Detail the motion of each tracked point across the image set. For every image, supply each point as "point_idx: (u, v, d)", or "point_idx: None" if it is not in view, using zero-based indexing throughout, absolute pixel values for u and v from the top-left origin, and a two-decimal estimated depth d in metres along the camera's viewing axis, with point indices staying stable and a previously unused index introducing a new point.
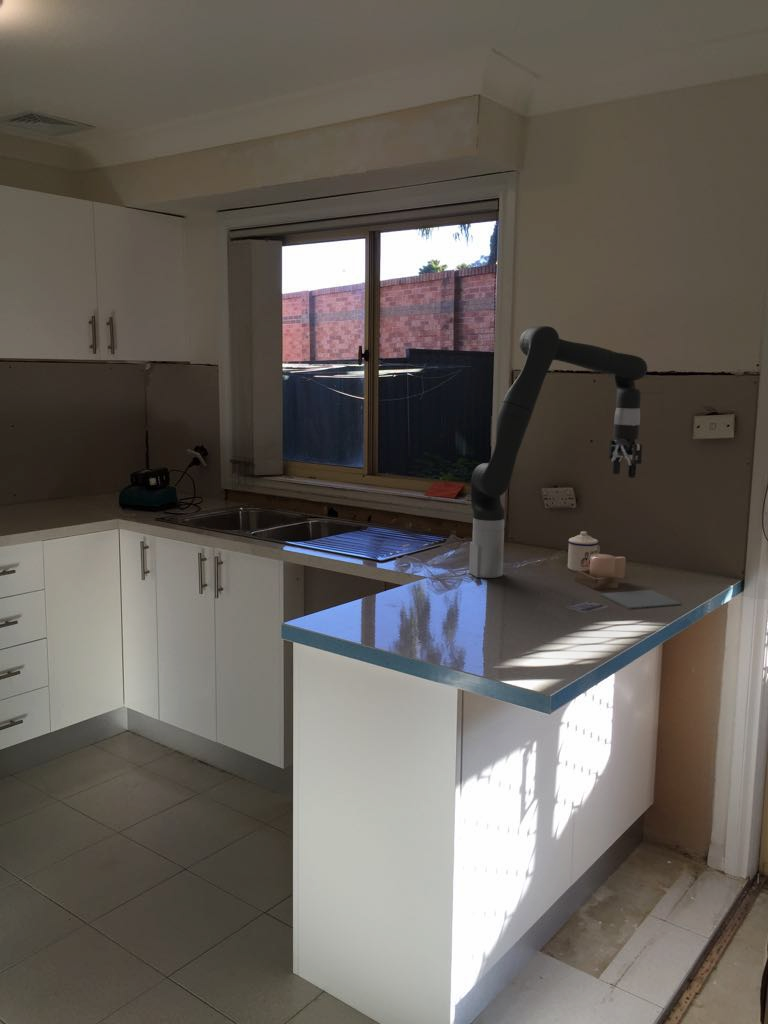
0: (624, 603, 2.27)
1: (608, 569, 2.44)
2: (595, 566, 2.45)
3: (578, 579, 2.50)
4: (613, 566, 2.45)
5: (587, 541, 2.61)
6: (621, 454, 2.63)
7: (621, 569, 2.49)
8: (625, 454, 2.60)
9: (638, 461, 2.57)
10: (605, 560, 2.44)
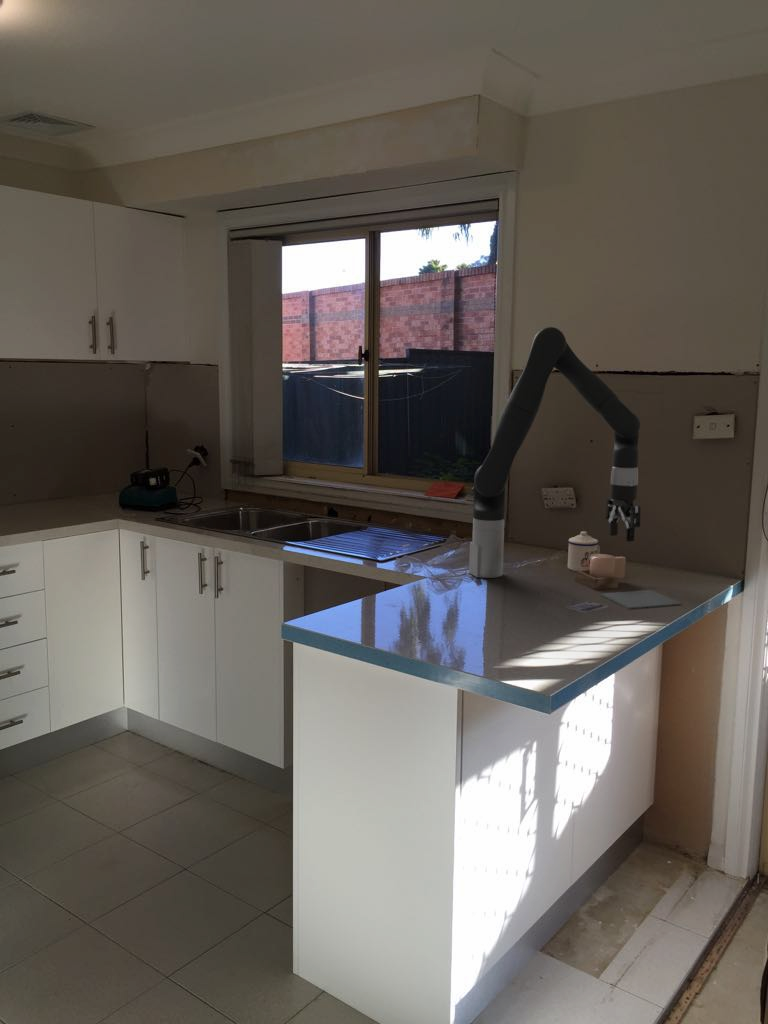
0: (624, 603, 2.27)
1: (608, 569, 2.44)
2: (595, 566, 2.45)
3: (578, 579, 2.50)
4: (613, 566, 2.45)
5: (587, 541, 2.61)
6: (618, 515, 2.47)
7: (621, 569, 2.49)
8: (623, 516, 2.43)
9: (637, 524, 2.40)
10: (605, 560, 2.44)
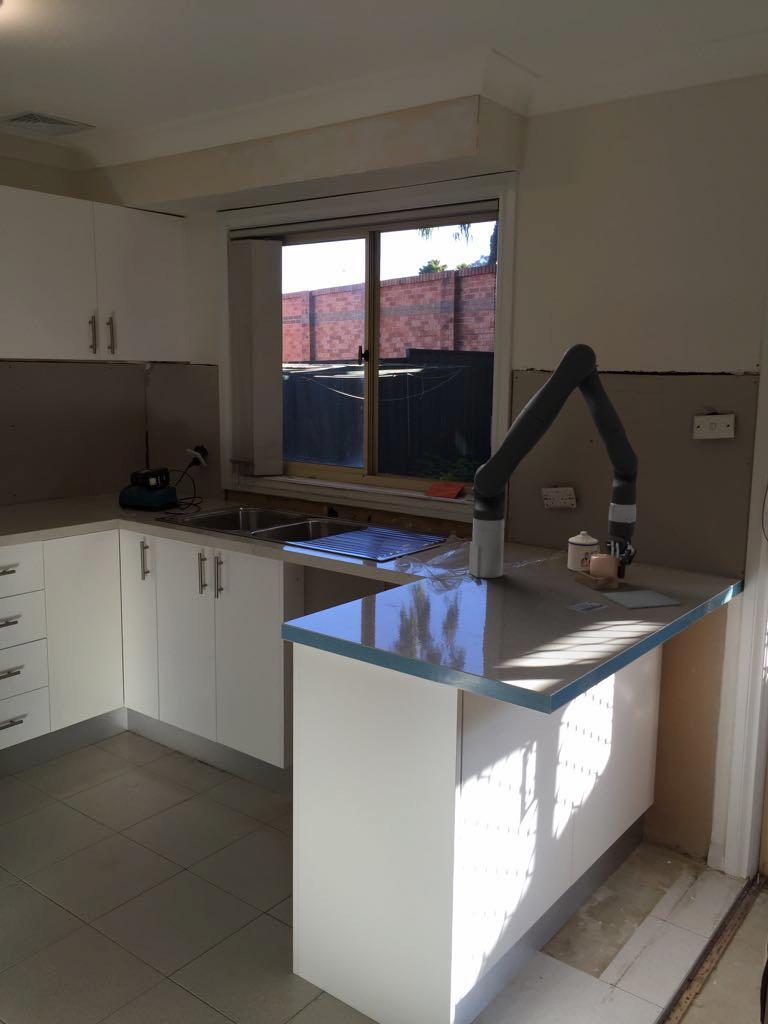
0: (624, 603, 2.27)
1: (608, 569, 2.44)
2: (595, 565, 2.45)
3: (578, 579, 2.50)
4: (613, 566, 2.45)
5: (587, 541, 2.61)
6: (616, 551, 2.48)
7: None
8: (617, 553, 2.47)
9: (627, 563, 2.45)
10: (605, 560, 2.44)
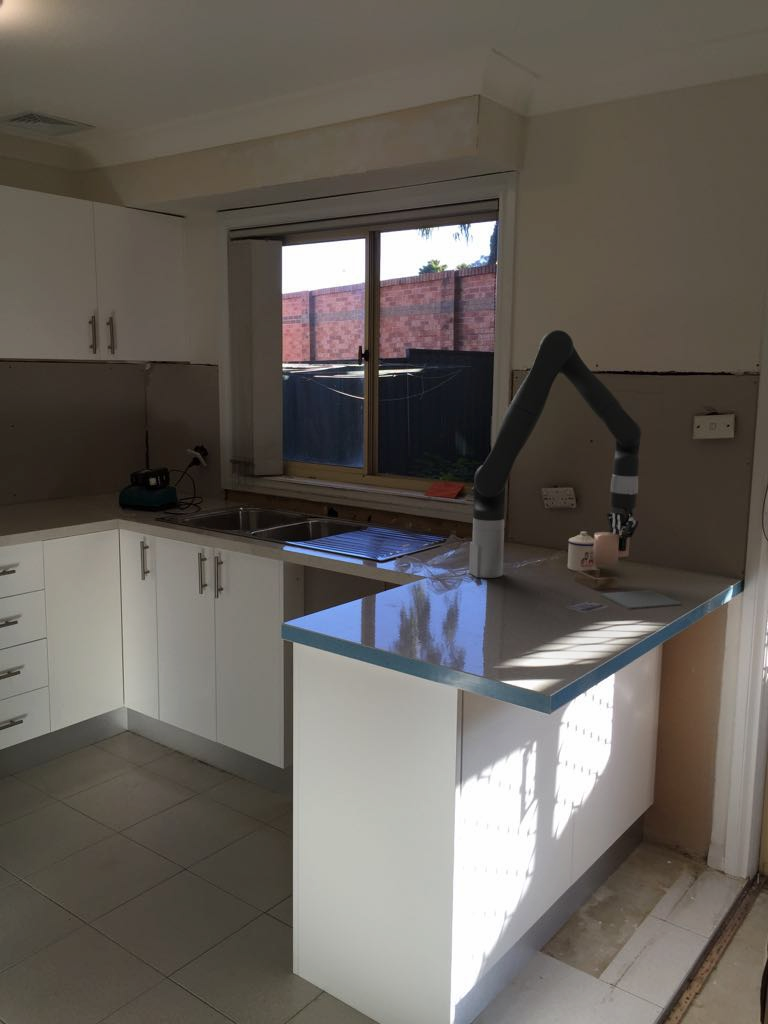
0: (624, 603, 2.27)
1: (612, 546, 2.43)
2: (599, 543, 2.44)
3: (578, 579, 2.50)
4: (617, 544, 2.44)
5: (587, 541, 2.61)
6: (617, 523, 2.47)
7: None
8: (619, 525, 2.45)
9: (629, 536, 2.44)
10: (609, 538, 2.43)
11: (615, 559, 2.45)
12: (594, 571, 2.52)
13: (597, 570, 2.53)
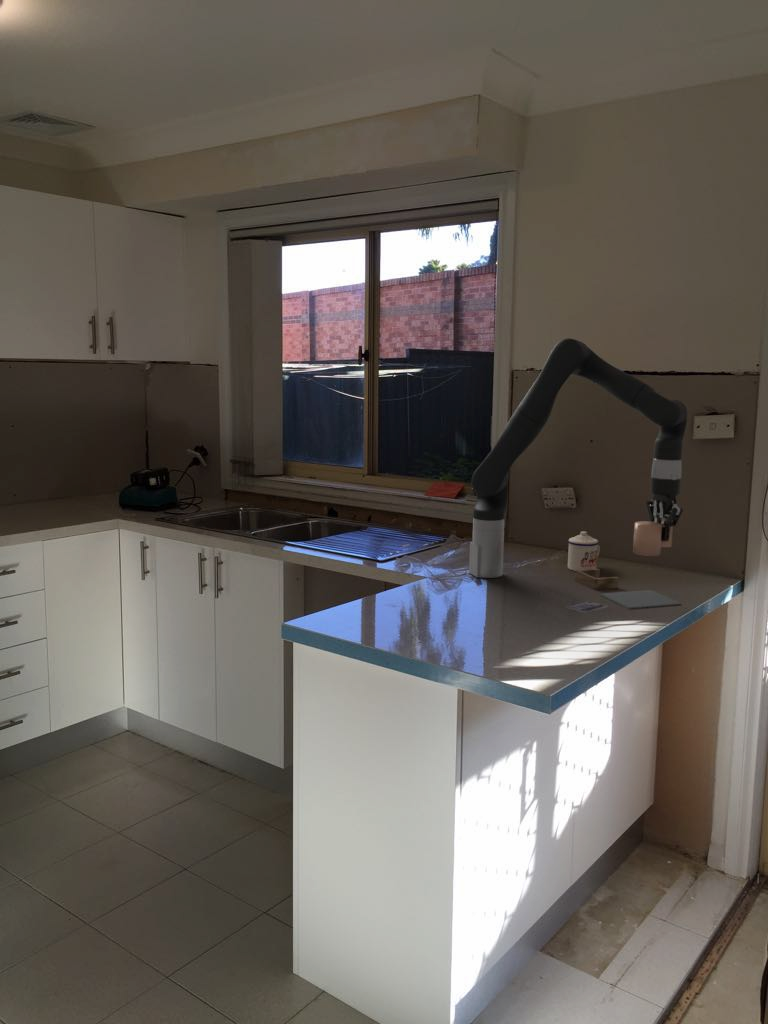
0: (624, 603, 2.27)
1: (654, 536, 2.26)
2: (640, 533, 2.27)
3: (578, 579, 2.50)
4: (660, 533, 2.27)
5: (587, 541, 2.61)
6: (659, 511, 2.29)
7: None
8: (661, 513, 2.27)
9: (672, 524, 2.26)
10: (651, 527, 2.25)
11: (658, 550, 2.27)
12: (594, 571, 2.52)
13: (597, 570, 2.53)
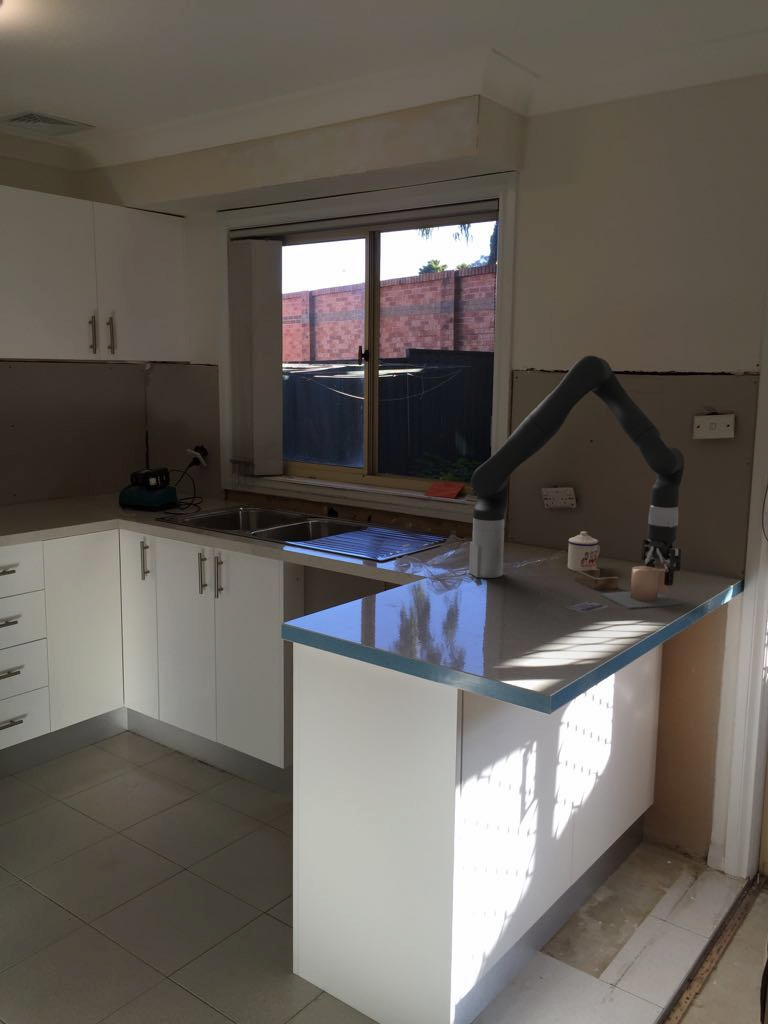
0: (624, 603, 2.27)
1: (651, 582, 2.28)
2: (637, 579, 2.29)
3: (578, 579, 2.50)
4: (657, 579, 2.29)
5: (587, 541, 2.61)
6: (656, 557, 2.31)
7: None
8: (661, 559, 2.28)
9: (676, 568, 2.25)
10: (648, 573, 2.27)
11: (655, 595, 2.29)
12: (594, 571, 2.52)
13: (597, 570, 2.53)
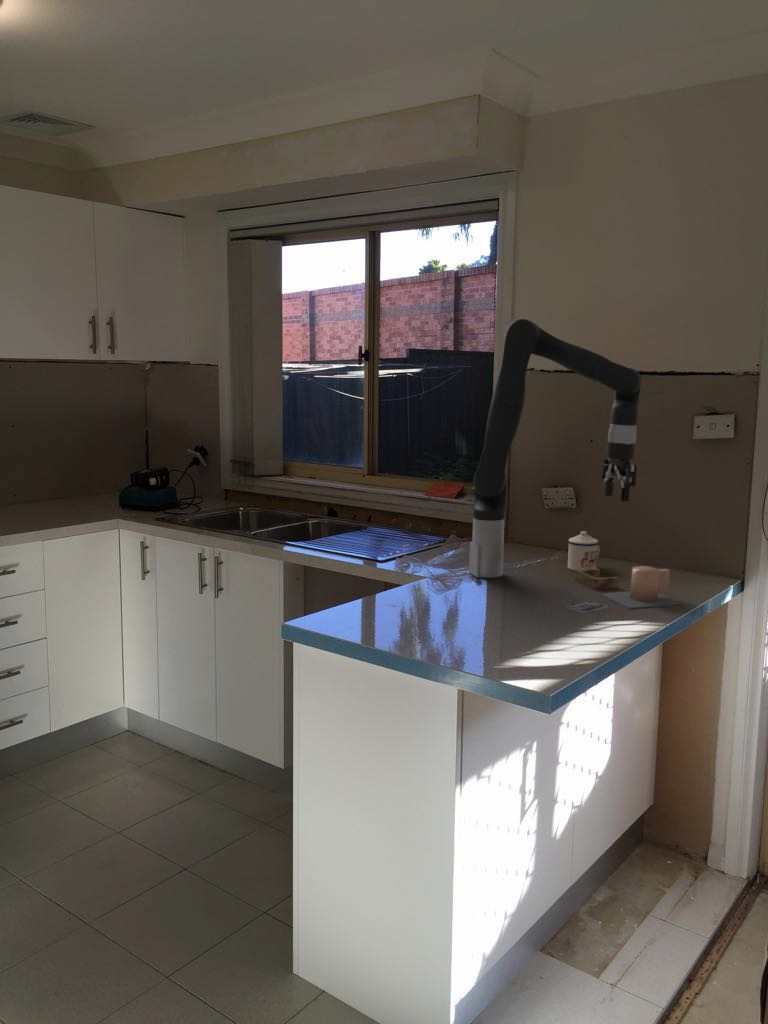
0: (624, 603, 2.27)
1: (651, 582, 2.28)
2: (637, 579, 2.29)
3: (578, 579, 2.50)
4: (657, 579, 2.29)
5: (587, 541, 2.61)
6: (614, 475, 2.40)
7: (665, 582, 2.32)
8: (618, 475, 2.37)
9: (632, 483, 2.34)
10: (648, 573, 2.27)
11: (655, 596, 2.29)
12: (594, 571, 2.52)
13: (597, 570, 2.53)
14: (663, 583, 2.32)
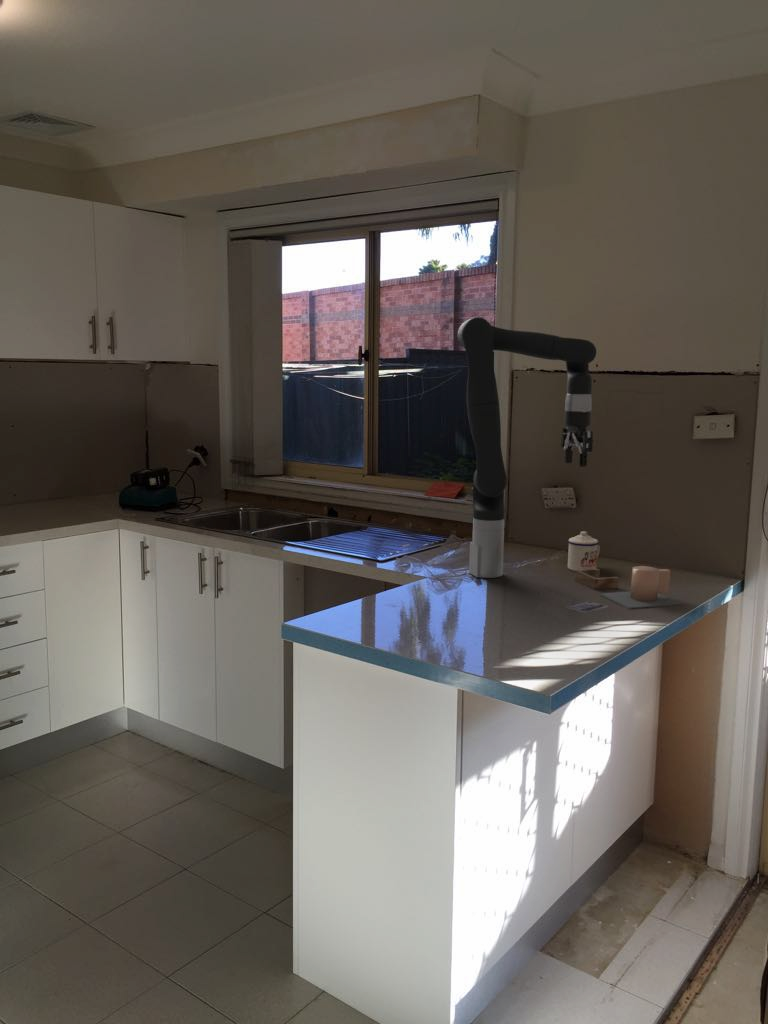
0: (624, 603, 2.27)
1: (651, 582, 2.28)
2: (637, 578, 2.29)
3: (578, 579, 2.50)
4: (657, 579, 2.29)
5: (587, 541, 2.61)
6: (572, 442, 2.53)
7: (666, 582, 2.32)
8: (576, 442, 2.50)
9: (589, 449, 2.47)
10: (649, 573, 2.27)
11: (655, 596, 2.29)
12: (594, 571, 2.52)
13: (597, 570, 2.53)
14: (663, 583, 2.32)
